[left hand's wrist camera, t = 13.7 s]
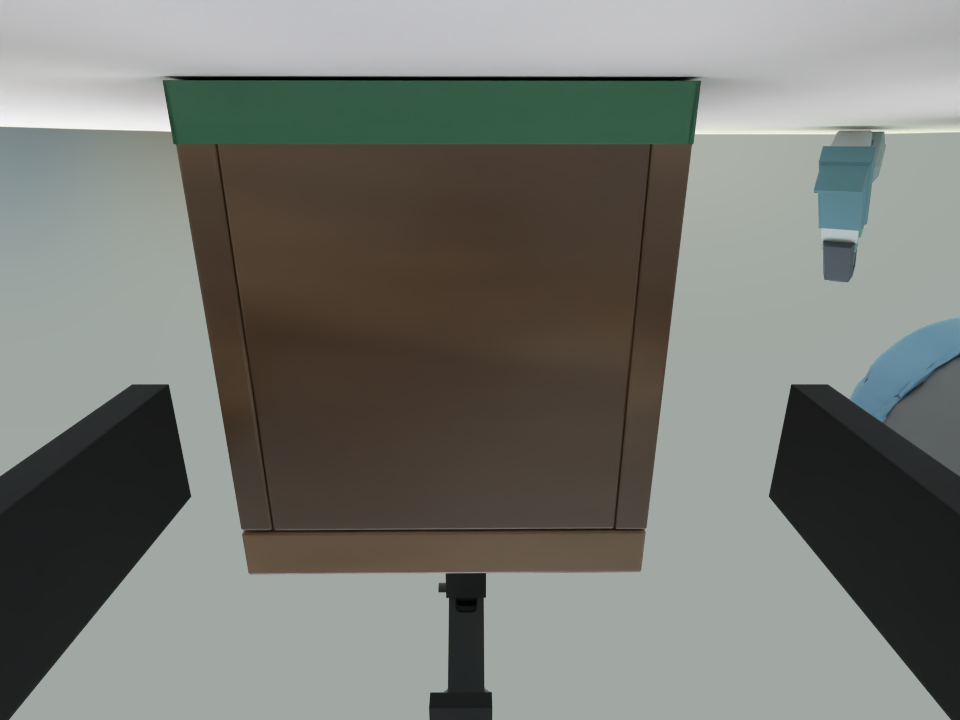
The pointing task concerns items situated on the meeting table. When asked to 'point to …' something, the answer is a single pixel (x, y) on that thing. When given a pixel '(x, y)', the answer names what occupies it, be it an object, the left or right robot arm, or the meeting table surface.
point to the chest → (437, 294)
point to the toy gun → (846, 196)
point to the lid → (443, 551)
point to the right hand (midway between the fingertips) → (463, 587)
